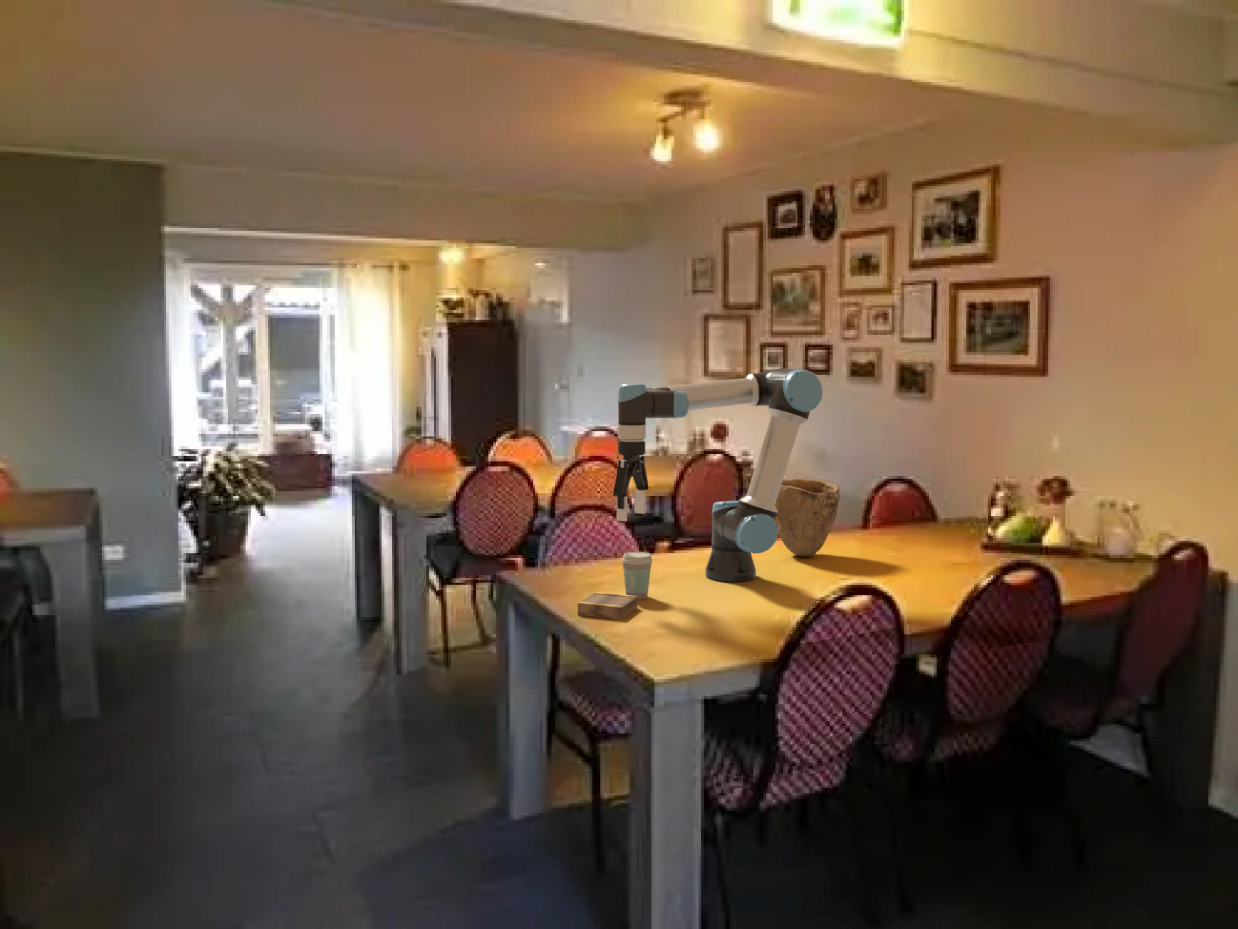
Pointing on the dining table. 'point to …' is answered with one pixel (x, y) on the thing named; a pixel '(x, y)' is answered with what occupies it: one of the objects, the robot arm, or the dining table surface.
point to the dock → (607, 605)
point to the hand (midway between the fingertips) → (631, 516)
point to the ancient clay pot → (806, 514)
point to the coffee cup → (637, 573)
